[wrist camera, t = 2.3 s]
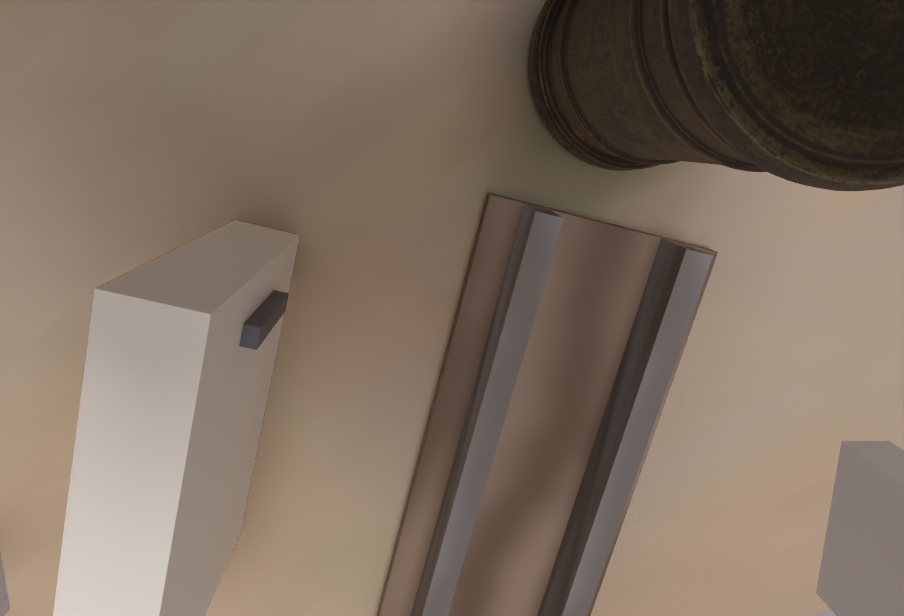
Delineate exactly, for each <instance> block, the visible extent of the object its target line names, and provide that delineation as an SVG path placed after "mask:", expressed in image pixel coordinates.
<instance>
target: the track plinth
mask: <svg viewBox="0 0 904 616" xmlns="http://www.w3.org/2000/svg"><path fill="white" fill-rule="evenodd" d="M717 253H718V252H716V251H713V250H711V249H708V248H704V247H700V246H696V245H692V244H688V243H684V242H680V241H676V240H672V239H669V238H665V237H661V236H657V235H653V234H649V233H645V232H641V231H637V230H633V229H629V228H625V227H621V226H617V225H613V224H609V223H605V222H601V221H597V220H593V219H589V218H586V217H582V216H578V215H574V214H570V213H566V212H562V211H558V210H554V209H550V208H546V207H542V206H538V205H534V204H530V203H526V202H522V201H518V200H514V199H510V198H506V197H503V196H499V195H495V194H491V193H488V196H487V199H486V203H485V207H484V211H483V215H482V218H481V222H480V226H479V230H478V234H477V237H476V241H475V245H474V249H473V253H472V257H471V260H470V264H469V268H468V272H467V276H466V279H465V283H464V287H463V291H462V295H461V298H460V302H459V306H458V310H457V314H456V317H455V321H454V325H453V329H452V333H451V337H450V340H449V344H448V348H447V352H446V356H445V359H444V363H443V367H442V371H441V375H440V378H439V382H438V386H437V390H436V394H435V397H434V401H433V405H432V409H431V413H430V417H429V420H428V424H427V428H426V432H425V436H424V439H423V443H422V447H421V451H420V455H419V458H418V462H417V466H416V470H415V474H414V477H413V481H412V485H411V489H410V493H409V496H408V500H407V504H406V508H405V512H404V516H403V519H402V523H401V527H400V531H399V535H398V538H397V542H396V546H395V550H394V554H393V557H392V561H391V565H390V569H389V573H388V576H387V580H386V584H385V588H384V592H383V596H382V599H381V603H380V607H379V611H378V615H377V616H590V615H591V612H592V609H593V606H594V603H595V600H596V598H597V595H598V592H599V589H600V586H601V583H602V581H603V578H604V575H605V572H606V569H607V566H608V563H609V561H610V558H611V555H612V552H613V549H614V546H615V544H616V541H617V538H618V535H619V532H620V529H621V526H622V524H623V521H624V518H625V515H626V512H627V509H628V507H629V504H630V501H631V498H632V495H633V492H634V489H635V487H636V484H637V481H638V478H639V475H640V472H641V470H642V467H643V464H644V461H645V458H646V455H647V452H648V450H649V447H650V444H651V441H652V438H653V435H654V432H655V430H656V427H657V424H658V421H659V418H660V415H661V413H662V410H663V407H664V404H665V401H666V398H667V395H668V393H669V390H670V387H671V384H672V381H673V378H674V376H675V373H676V370H677V367H678V364H679V361H680V358H681V356H682V353H683V350H684V347H685V344H686V341H687V339H688V336H689V333H690V330H691V327H692V324H693V321H694V319H695V316H696V313H697V310H698V307H699V304H700V302H701V299H702V296H703V293H704V290H705V287H706V284H707V282H708V279H709V276H710V273H711V270H712V267H713V264H714V262H715V259H716V256H717Z"/></svg>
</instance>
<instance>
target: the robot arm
mask: <svg viewBox="0 0 904 616" xmlns="http://www.w3.org/2000/svg"><path fill="white" fill-rule="evenodd" d="M816 593H817V594H818V595H819V596H820V597H821V598H822V600H823V601H824V602H825V603H826V604H827V605H828V606H829V608H830V609H831V610H832V611H833V612H834V613H835V614H836V616H904V450H902V449H900V448H899V447H897V446H896V445H894V444H893V443H891V442H890V441H842V443H841V449H840V455H839V461H838V467H837V473H836V478H835V484H834V490H833V496H832V502H831V508H830V514H829V520H828V526H827V532H826V538H825V544H824V550H823V555H822V561H821V567H820V573H819V579H818V585H817V591H816ZM9 609H10V605H9V599H8V593H7V588H6V582H5V576H4V570H3V564H2V558H1V552H0V616H4V615H5V613H6V612H7V611H8V610H9Z"/></svg>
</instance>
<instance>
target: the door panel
mask: <svg viewBox="0 0 904 616" xmlns="http://www.w3.org/2000/svg"><path fill="white" fill-rule="evenodd" d="M299 238H300V235H297V234H292V233H288V232H284V231H280V230H276V229H272V228H267V227H263V226H259V225H255V224H251V223H246V222H242V221H238V220H234V221H232V222H230V223H228V224H226V225H224V226H222V227H220V228H218V229H215V230H213V231H211V232H209V233H207V234H205V235H203V236H201V237H199V238H197V239H195V240H193V241H191V242H189V243H187V244H185V245H183V246H181V247H179V248H177V249H175V250H172V251H170V252H168V253H166V254H164V255H162V256H160V257H158V258H156V259H154V260H152V261H150V262H148V263H146V264H144V265H142V266H140V267H138V268H136V269H134V270H132V271H129V272H127V273H125V274H123V275H121V276H119V277H117V278H115V279H113V280H111V281H109V282H107V283H105V284H103V285H101V286H99V287H97V288H95V290H94V298H93V306H92V314H91V322H90V329H89V337H88V345H87V353H86V361H85V369H84V376H83V384H82V392H81V400H80V408H79V416H78V424H77V431H76V439H75V447H74V455H73V463H72V471H71V478H70V486H69V494H68V502H67V510H66V518H65V526H64V533H63V541H62V549H61V557H60V565H59V573H58V580H57V588H56V596H55V604H54V612H53V616H204V615H205V613H206V611H207V609H208V606H209V604H210V602H211V599H212V597H213V595H214V593H215V590H216V588H217V586H218V584H219V581H220V579H221V577H222V574H223V572H224V570H225V568H226V565H227V563H228V561H229V559H230V556H231V554H232V552H233V549H234V547H235V545H236V543H237V540H238V538H239V536H240V534H241V530H242V525H243V520H244V515H245V510H246V505H247V499H248V494H249V489H250V484H251V479H252V474H253V469H254V464H255V459H256V454H257V449H258V444H259V439H260V434H261V429H262V424H263V419H264V414H265V409H266V404H267V399H268V394H269V389H270V384H271V379H272V374H273V369H274V364H275V359H276V354H277V349H278V344H279V339H280V334H281V329H282V324H283V318H284V313H285V309H286V304H287V299H288V294H289V288H290V283H291V278H292V273H293V268H294V263H295V258H296V253H297V248H298V243H299Z"/></svg>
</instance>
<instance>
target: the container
mask: <svg viewBox="0 0 904 616" xmlns="http://www.w3.org/2000/svg"><path fill="white" fill-rule="evenodd" d="M529 74H530V83H531V89H532V93H533V97H534V100H535V103H536V106H537V108H538V111H539V113H540V115H541V117H542V119H543V121H544V123H545V124H546V126H547V127H548V129H549V130H550V132H551V133H552V134H553V136H554V137H555V138H556V139H557V140H558V141H559V142H560V143H561V144H562V145H563V146H564V147H565V148H566V149H567V150H569V151H570V152H571V153H572V154H574V155H575V156H577V157H578V158H580V159H582V160H583V161H585V162H587V163H589V164H592V165H594V166H597V167H601V168H605V169H610V170H633V169H643V168H649V167H653V166H657V165H660V164H669V163H674V162H678V161H688V162H699V163H709V164H719V165H724V166H727V167H730V168H733V169H738V170H744V171H751V172H769V173H771V174H773V175H776V176H778V177H781V178H783V179H786V180H789V181H792V182H795V183H799V184H803V185H807V186H812V187H817V188H823V189H829V190H836V191H864V190H877V189H885V188H891V187H896V186H901V185H904V0H547V2H546V3H545V5H544V7H543V9H542V11H541V13H540V15H539V18H538V20H537V23H536V26H535V29H534V32H533V37H532V42H531V48H530V57H529Z"/></svg>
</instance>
